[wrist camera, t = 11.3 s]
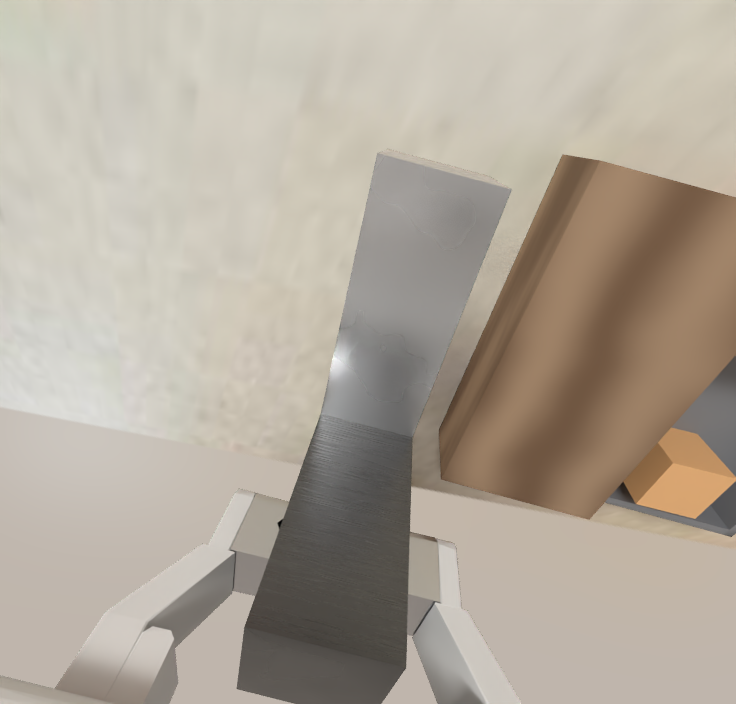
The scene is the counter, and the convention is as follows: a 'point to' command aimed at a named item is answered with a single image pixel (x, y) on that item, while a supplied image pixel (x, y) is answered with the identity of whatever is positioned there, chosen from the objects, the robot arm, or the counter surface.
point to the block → (679, 475)
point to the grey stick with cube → (369, 443)
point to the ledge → (595, 337)
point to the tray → (723, 436)
